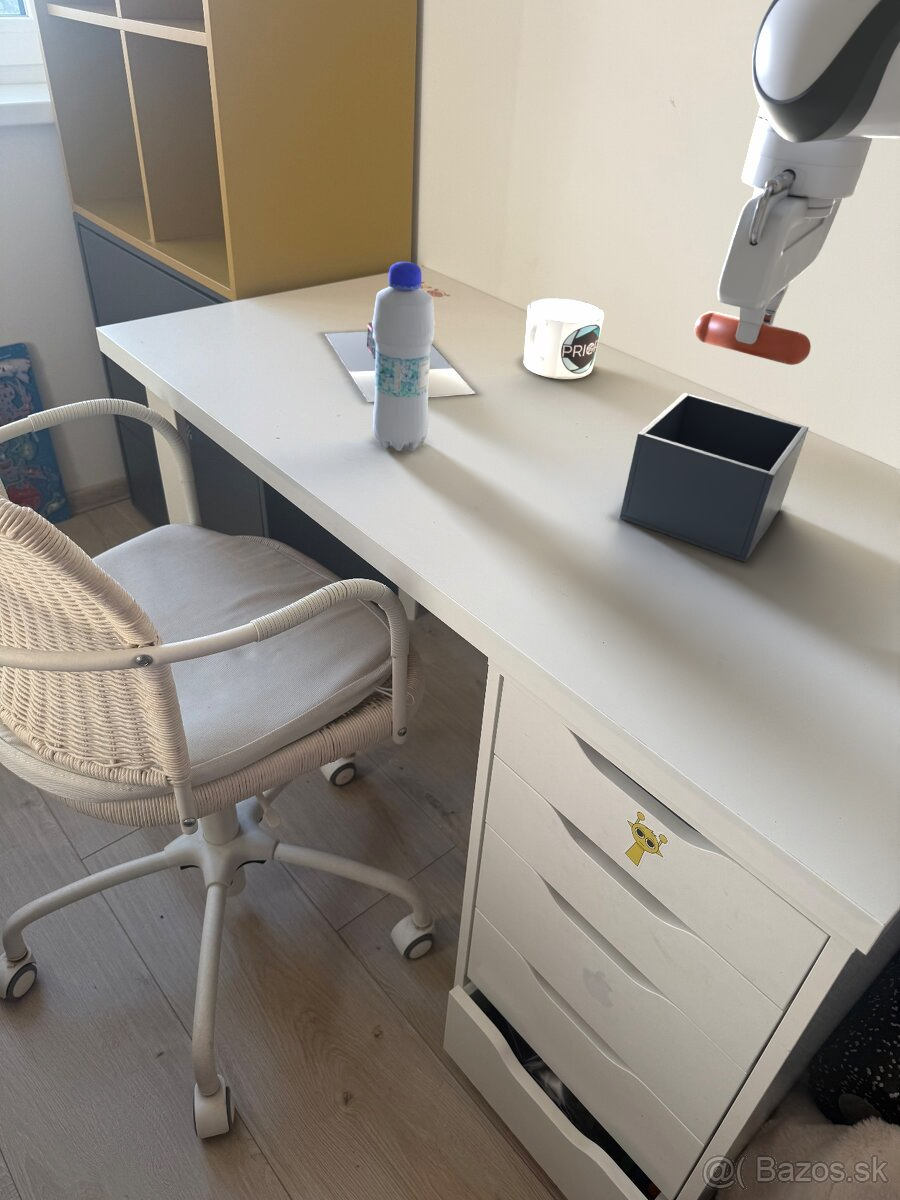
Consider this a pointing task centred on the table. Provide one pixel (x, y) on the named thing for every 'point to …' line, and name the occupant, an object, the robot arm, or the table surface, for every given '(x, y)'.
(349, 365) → the shiny metal sheet
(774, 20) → the robot arm
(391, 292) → the bottle
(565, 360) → the mug
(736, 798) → the table surface
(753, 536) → the bin
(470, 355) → the table surface
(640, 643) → the table surface
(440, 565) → the table surface
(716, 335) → the orange round-ended cylinder
